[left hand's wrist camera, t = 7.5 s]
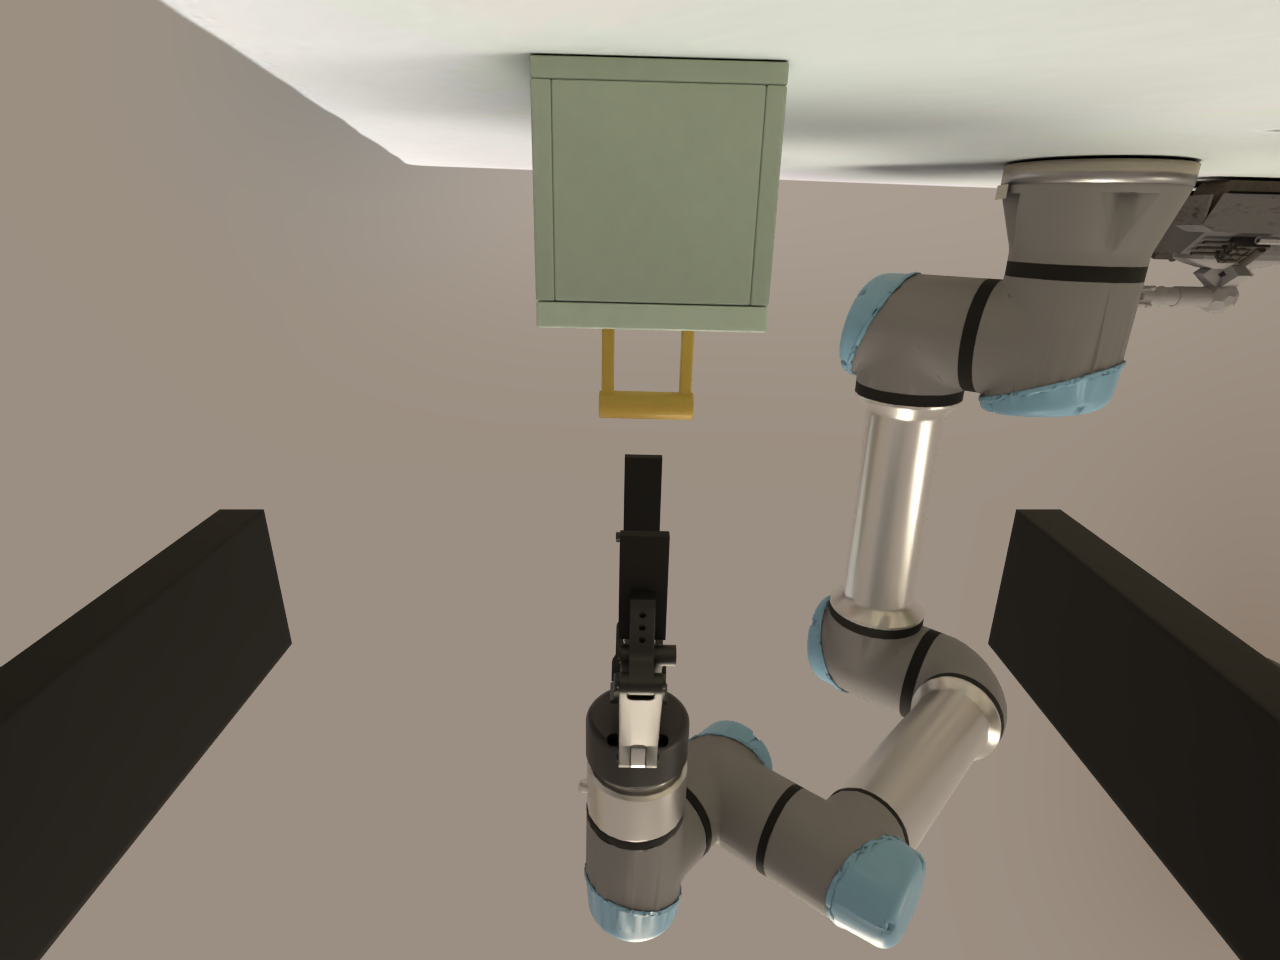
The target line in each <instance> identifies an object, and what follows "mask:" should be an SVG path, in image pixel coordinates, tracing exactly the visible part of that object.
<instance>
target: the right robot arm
mask: <svg viewBox="0 0 1280 960" xmlns="http://www.w3.org/2000/svg"><path fill="white" fill-rule="evenodd" d="M1200 166H1201V163H1199V162H1195V161H1188V160H1176V159H1150V158H1096V159H1064V160H1045V161H1031V162H1021V163H1014V164H1009V165H1006V166H1005V167H1004V171H1003V177H1002V182H1001V185H1000V186H998V187H997V193H996V198H995V200H997V199H1003V206H1004V214H1005V221H1006V228H1007V235H1008V242H1009V255H1008V261H1007V266H1006V271H1005V276H1004V279H1003V280H1001V279H985V278H970V277H955V276H940V275H925V274H921V273H919V272H913V273H909V274H897V273H887V274H882V275H879V276H877V277H875V278H873V279H872V280H870V281H869V282H868V283H867V284H866V285H865V286H864V287H863V288H862V290H861V291H860V293H859V294H858V296H857V298H856V299H855V300H854V302H853V304H852V306H851V308H850V311H849V313H848V315H847V318H846V321H845V324H844V327H843V331H842V336H841V341H840V358H841V359H842V360H841V365H842V367H843V369H844V370H845V371H847V372H849V373H850V374H852V375H857V378H856V387H855V395H856V396H857V397H858V398H859V399H860V400H861V402H862V403H863V404H864V405H865V407H866V415H865V424H864V431H863V439H862V447H861V455H860V463H859V471H858V478H857V486H856V494H855V502H854V510H853V517H852V526H851V533H850V541H849V549H848V557H847V565H846V572H845V581H844V583H843V584H841V585H839V586H837V587H836V588H835V589H834V590H833V591H832V592H831V595H829V596H827V597H825V598H824V599H823V600H822V601H821V602H820V604H819V605H818V607H817V609H816V610H815V613H814V615H813V618H812V619H813V623H812V626H810V628H809V633H808V641H807V651H808V659H809V663H810V666H811V668H812V670H813V672H814V673H815V674H816V675H817V676H818V677H819V678H820V679H821V680H823V681H825V682H827V683H829V684H831V685H833V686H834V687H835V688H837V689H838V690H840V691H842V692H846V693H849V692H850V693H852V694H854V695H856V696H859V697H861V698H863V699H865V700H867V701H870V702H872V703H874V704H876V705H878V706H881V707H883V708H885V709H887V710H889V711H891V712H894V713H896V714H898V715H900V716H903V717H904V718H903V719H902V721H901V722H900V723H899V724H898V725H897V726H896V727H895V728H894V729H893V730H892V731H891V732H890V733H889V735H888V736H887V737H886V738H885V739H884V740H883V741H882V742H881V743H880V744H879V745H878V746H877V747H876V749H875V750H874V751H873V752H872V753H871V754H870V755H869V756H868V757H867V758H866V759H865V760H864V762H863V763H862V764H861V765H860V766H859V767H858V768H857V769H856V770H855V771H854V772H853V773H852V774H851V775H850V777H849V778H848V779H847V780H846V781H845V782H844V783H843V784H842V785H841V786H840V787H839V788H838V789H837V791H836V792H834V793H833V794H832V795H831V796H830V797H829V798H828V799H827V800H825V799H823V798H821V797H819V796H817V795H816V794H814V793H812V792H810V791H808V790H806V789H804V788H803V787H801V786H799V785H797V784H796V783H794V782H792V781H790V780H788V779H787V778H785V777H783V776H781V775H779V774H777V773H776V772H774V771H772V762H771V757H770V755H769V752H768V750H767V748H766V746H765V745H764V743H763V742H762V741H760V740H758V739H757V738H756V737H755V736H754V735H753V731H752V730H751V729H749V728H748V727H746V726H744V725H742V724H740V723H738V722H734V721H718V722H715V723H713V724H711V725H710V726H709V727H707V728H706V729H705V730H703V731H702V732H701V733H699V734H698V735H695V736H693V737H692V738H691V739H689V740H688V738H689V716H688V713H687V711H686V709H685V707H684V706H683V704H682V703H681V702H680V701H679V700H678V699H677V698H676V697H675V696H673V695H672V694H670V693H668V692H667V684H666V666H676V645H663V640H665V635H666V611H667V587H668V564H669V540H670V536H669V531H660V504H661V476H662V455H629V454H626V455H625V484H624V485H625V486H624V530H621V531H620V532H616V542H620V571H619V622H618V623H617V632H616V655H615V657H614V658H613V660H612V681H614V682H612V683H611V689H610V690H609V691H607V692H605V693H603V694H602V695H600V696H599V697H598V698H597V699H596V700H595V701H594V702H593V703H592V705H591V706H590V708H589V710H588V713H587V716H586V756H587V779H581V780H580V781H579V783H578V784H579V788H578V790H579V791H580V792H581V793H587V837H586V863H585V869H584V874H585V878H586V882H587V892H588V902H589V907H590V910H591V913H592V915H593V917H594V919H595V921H596V922H597V924H598V925H599V926H600V927H601V928H602V929H603V930H604V931H605V932H607V933H608V934H610V935H612V936H613V937H615V938H617V939H620V940H623V941H629V942H641V941H646V940H650V939H652V938H655V937H657V936H658V935H660V934H661V933H663V932H664V931H665V930H666V929H667V928H668V927H669V926H670V924H671V923H672V921H673V920H674V918H675V915H676V912H677V908H678V903H679V899H680V898H681V882H682V880H683V878H684V877H685V875H686V874H687V873H688V872H689V871H690V870H691V869H692V868H693V867H694V865H695V864H696V863H697V862H698V861H699V860H700V859H701V858H702V857H703V856H704V855H705V854H706V853H707V852H708V850H709V849H710V848H711V847H713V846H714V845H715V844H717V845H719V846H720V847H722V848H723V849H725V850H726V851H728V852H729V853H731V854H732V855H734V856H735V857H737V858H739V859H740V860H742V861H743V862H745V863H746V864H748V865H749V866H751V867H753V868H754V869H756V870H757V871H759V872H760V873H762V874H763V875H765V876H766V877H768V878H769V879H771V880H772V881H774V882H775V883H777V884H778V885H780V886H781V887H783V888H784V889H786V890H787V891H789V892H790V893H791V894H793V895H794V896H796V897H797V898H799V899H800V900H802V901H803V902H805V903H806V904H808V905H809V906H811V907H812V908H814V909H815V910H817V911H818V912H820V913H821V914H823V915H824V916H826V917H827V918H829V919H830V920H831V921H832V922H833V923H834V924H835V925H837V926H838V927H840V928H843V929H846V930H848V931H850V932H851V933H853V934H855V935H857V936H859V937H860V938H862V939H864V940H866V941H867V942H869V943H871V944H873V945H874V946H876V947H879V948H884V949H888V948H891V947H893V946H894V945H896V944H897V943H898V942H899V941H900V939H901V938H902V936H903V934H904V933H905V931H906V929H907V926H908V923H909V921H910V919H911V917H912V916H913V913H914V911H915V908H916V905H917V902H918V900H919V897H920V894H921V890H922V887H923V883H924V879H925V873H926V865H925V861H924V859H923V857H922V856H921V854H920V853H919V852H917V851H916V848H917V847H918V845H919V844H920V842H921V841H922V839H923V838H924V836H925V835H926V833H927V831H928V830H929V828H930V827H931V825H932V824H933V822H934V821H935V819H936V818H937V816H938V815H939V813H940V811H941V810H942V808H943V807H944V805H945V804H946V802H947V801H948V799H949V798H950V796H951V795H952V793H953V792H954V790H955V789H956V787H957V786H958V784H959V783H960V781H961V780H962V778H963V776H964V775H965V773H966V772H967V770H968V769H969V767H970V766H971V764H972V763H973V761H975V760H979V759H982V758H984V757H986V756H987V755H989V754H990V753H991V752H992V751H993V750H994V749H995V747H996V746H997V744H998V743H999V741H1000V739H1001V738H1002V736H1003V734H1004V731H1005V727H1006V722H1007V705H1006V701H1005V697H1004V693H1003V691H1002V689H1001V686H1000V684H999V682H998V680H997V678H996V676H995V675H994V673H993V672H992V670H991V669H990V667H989V666H988V665H987V663H986V662H985V661H984V660H983V659H982V658H981V657H980V656H979V655H978V654H977V653H976V652H975V651H973V650H972V649H971V648H970V647H968V646H967V645H966V644H964V643H963V642H961V641H959V640H957V639H956V638H953V637H951V636H948V635H946V634H943V633H940V632H938V631H935V630H932V629H930V628H927V627H925V626H923V620H924V613H925V611H924V607H923V605H922V603H921V602H920V601H919V600H918V599H917V598H916V597H915V595H914V594H915V588H916V582H917V576H918V570H919V565H920V559H921V553H922V547H923V541H924V535H925V530H926V524H927V518H928V512H929V506H930V500H931V494H932V489H933V483H934V477H935V471H936V465H937V459H938V453H939V448H940V442H941V436H942V430H943V424H944V418H945V416H946V415H947V414H948V413H949V412H951V411H952V410H954V409H955V408H956V407H958V406H959V405H961V403H962V400H963V394H964V391H972V392H978V393H980V394H981V395H980V396H979V401H980V405H981V407H982V408H983V409H984V410H986V411H989V412H995V413H997V414H1002V415H1011V416H1024V417H1061V416H1072V415H1080V414H1085V413H1090V412H1093V411H1096V410H1098V409H1100V408H1102V407H1104V406H1105V405H1106V404H1107V403H1108V402H1109V401H1110V400H1111V398H1112V397H1113V394H1114V391H1115V388H1116V385H1117V382H1118V379H1119V376H1120V372H1121V370H1122V368H1124V366H1125V364H1126V361H1124V360H1123V359H1124V355H1125V351H1126V347H1127V344H1128V340H1129V336H1130V333H1131V329H1132V325H1133V321H1134V318H1135V314H1136V311H1137V307H1138V303H1139V300H1140V296H1141V292H1142V289H1143V285H1144V281H1145V277H1146V273H1147V269H1148V265H1149V262H1150V258H1151V256H1152V254H1153V252H1154V250H1155V248H1156V247H1157V245H1158V244H1159V242H1160V241H1161V239H1162V237H1163V236H1164V234H1165V233H1166V231H1167V229H1168V228H1169V226H1170V225H1171V223H1172V222H1173V220H1174V218H1175V217H1176V215H1177V214H1178V212H1179V211H1180V209H1181V207H1182V206H1183V204H1184V203H1185V201H1186V200H1187V198H1188V196H1189V195H1190V193H1191V192H1192V189H1193V187H1195V184H1196V181H1197V177H1198V173H1199V170H1200ZM623 639H624V642H623ZM654 640H655V643H654Z"/></svg>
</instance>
